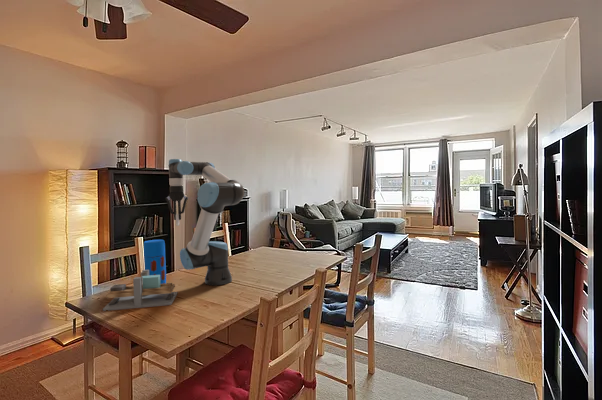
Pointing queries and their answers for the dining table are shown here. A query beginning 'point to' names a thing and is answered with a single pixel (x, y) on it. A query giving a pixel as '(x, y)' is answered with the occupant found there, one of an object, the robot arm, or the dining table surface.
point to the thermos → (155, 258)
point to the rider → (151, 281)
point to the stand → (140, 298)
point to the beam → (127, 291)
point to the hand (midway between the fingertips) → (177, 225)
